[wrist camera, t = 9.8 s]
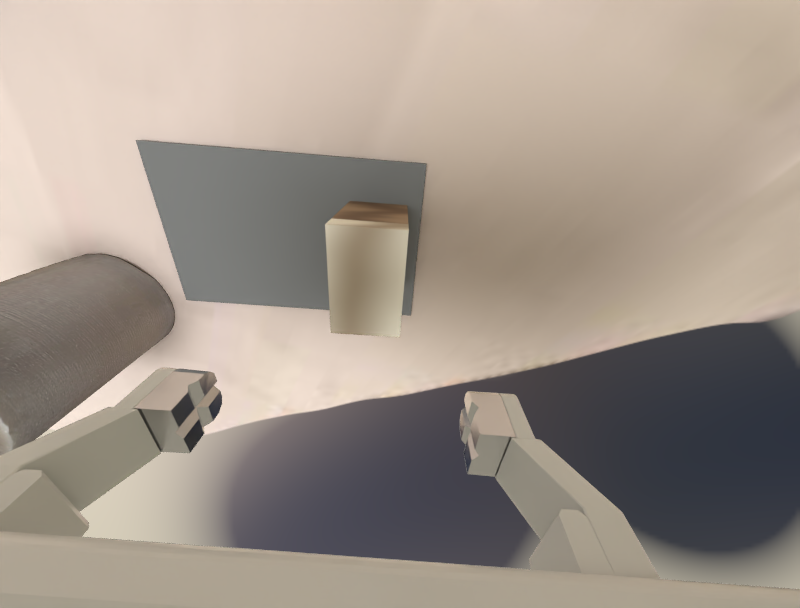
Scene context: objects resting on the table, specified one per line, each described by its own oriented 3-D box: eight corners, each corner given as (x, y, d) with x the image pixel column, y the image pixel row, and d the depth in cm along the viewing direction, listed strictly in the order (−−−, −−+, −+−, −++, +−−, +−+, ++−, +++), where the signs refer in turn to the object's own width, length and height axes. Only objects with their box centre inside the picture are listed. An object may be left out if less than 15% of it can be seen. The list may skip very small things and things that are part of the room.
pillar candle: (103, 345, 30) (-130, 500, 17) (39, 255, 25) (-353, 373, 12) (193, 338, 30) (27, 492, 16) (145, 246, 25) (-140, 357, 12)
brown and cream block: (407, 205, 23) (408, 230, 15) (400, 286, 26) (399, 337, 19) (349, 200, 22) (325, 224, 15) (350, 282, 26) (330, 332, 19)
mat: (426, 163, 21) (426, 163, 21) (410, 313, 28) (410, 315, 27) (140, 140, 21) (135, 140, 21) (189, 298, 27) (186, 300, 27)
